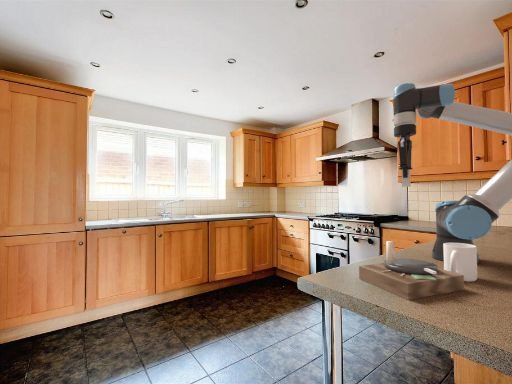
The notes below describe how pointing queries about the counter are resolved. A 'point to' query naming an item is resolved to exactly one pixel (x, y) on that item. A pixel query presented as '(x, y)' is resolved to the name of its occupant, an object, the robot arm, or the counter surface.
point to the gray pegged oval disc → (407, 263)
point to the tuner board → (411, 281)
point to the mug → (461, 260)
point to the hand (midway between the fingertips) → (406, 186)
